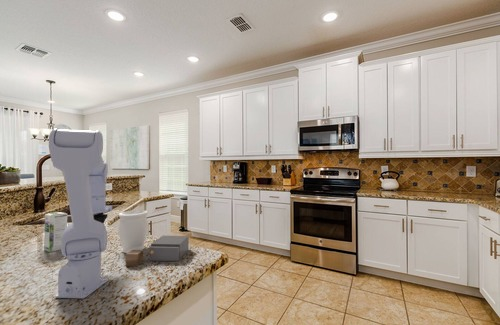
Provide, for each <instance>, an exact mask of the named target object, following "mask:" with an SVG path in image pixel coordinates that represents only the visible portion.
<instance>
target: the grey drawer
mask: <svg viewBox="0 0 500 325" xmlns="http://www.w3.org/2000/svg"><path fill="white" fill-rule="evenodd" d="M148 261H162V262H178V261H180V260H179V247H156V246H151V245H150V246H148Z"/></svg>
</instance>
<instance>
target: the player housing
mask: <svg viewBox="0 0 500 325" xmlns="http://www.w3.org/2000/svg"><path fill="white" fill-rule="evenodd" d="M189 238H190V237H189V235H162V236H160V237H159V238H157V239H156V240H154V241H153V242H152V243H150V246H156V247H162V246H172V247H179V260H178V261H180V260H181V259H182V258H183V256H185V255H186V254H187V252H188V251H189V246H190V245H189V242H190V241H189V240H190V239H189Z"/></svg>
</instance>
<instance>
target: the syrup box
mask: <svg viewBox="0 0 500 325" xmlns="http://www.w3.org/2000/svg"><path fill="white" fill-rule="evenodd" d="M67 226H68V213H66V212H62V211H59V212H58V211H57V212H49V213H45V214H44V231H43V232H44V234H43V235H44V237H43V245H44V246H43V250H44V251H47V252H50V253H53V252H56V251H61V244H62V243H61V237H62V234H63V232H64V230H65V228H66V227H67Z"/></svg>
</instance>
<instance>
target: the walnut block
mask: <svg viewBox="0 0 500 325" xmlns="http://www.w3.org/2000/svg"><path fill="white" fill-rule="evenodd" d="M142 263H144V249H143V250H131V251H130V252H128V253H125V267H138V266H139V265H141V264H142Z"/></svg>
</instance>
